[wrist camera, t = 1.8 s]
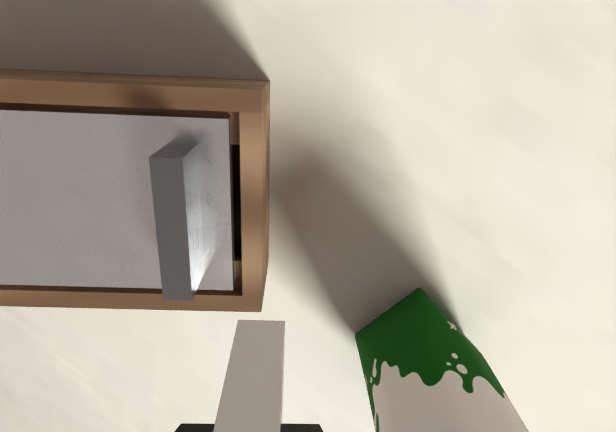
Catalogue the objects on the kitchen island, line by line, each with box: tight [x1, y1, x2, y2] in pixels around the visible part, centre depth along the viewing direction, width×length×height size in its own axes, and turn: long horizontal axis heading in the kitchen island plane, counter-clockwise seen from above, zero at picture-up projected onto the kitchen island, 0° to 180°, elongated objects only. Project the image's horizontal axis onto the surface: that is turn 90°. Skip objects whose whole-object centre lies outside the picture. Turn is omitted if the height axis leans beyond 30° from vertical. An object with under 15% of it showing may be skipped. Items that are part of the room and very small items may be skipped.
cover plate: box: [0, 107, 235, 301], centre depth 23 cm, size 11×17×4 cm, turn 88°
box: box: [0, 69, 270, 312], centre depth 28 cm, size 14×20×7 cm
